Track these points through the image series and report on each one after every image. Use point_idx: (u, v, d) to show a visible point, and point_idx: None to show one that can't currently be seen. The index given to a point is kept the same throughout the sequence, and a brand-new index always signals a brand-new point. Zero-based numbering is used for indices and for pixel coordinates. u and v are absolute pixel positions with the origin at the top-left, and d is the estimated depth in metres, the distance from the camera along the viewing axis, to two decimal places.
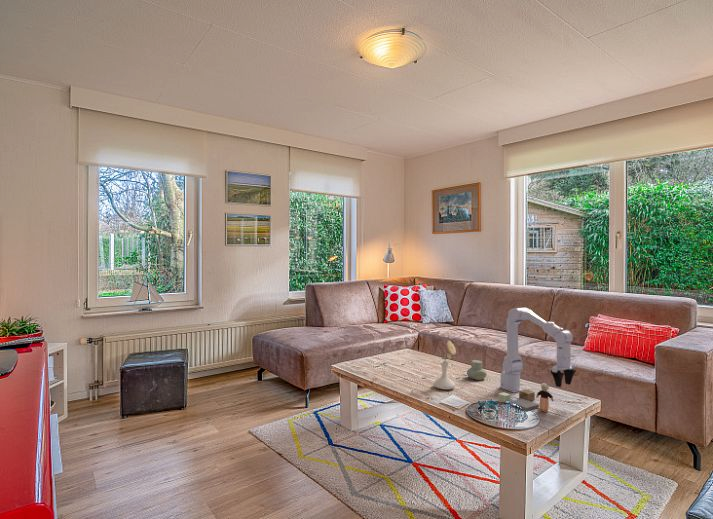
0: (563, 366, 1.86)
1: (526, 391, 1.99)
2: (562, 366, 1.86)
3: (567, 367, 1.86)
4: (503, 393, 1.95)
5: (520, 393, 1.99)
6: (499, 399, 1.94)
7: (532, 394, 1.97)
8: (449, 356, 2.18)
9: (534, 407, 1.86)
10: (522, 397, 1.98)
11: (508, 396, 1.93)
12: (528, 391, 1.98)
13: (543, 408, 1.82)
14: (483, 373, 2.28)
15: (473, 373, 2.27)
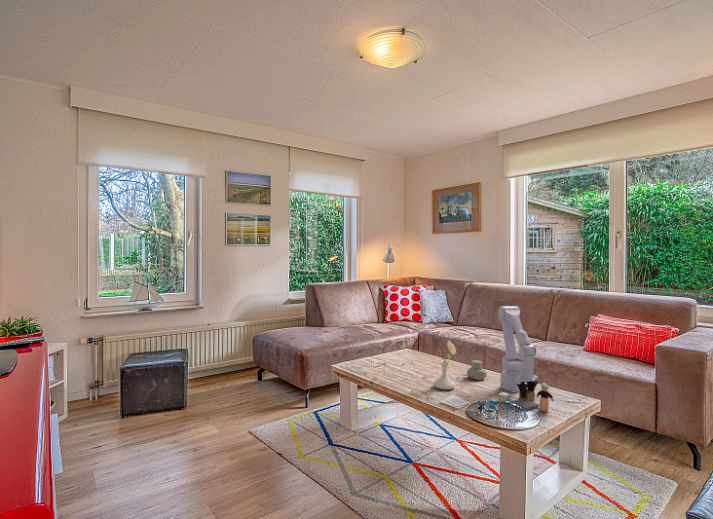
0: (526, 378, 1.96)
1: None
2: (525, 378, 1.96)
3: (530, 379, 1.95)
4: (503, 393, 1.95)
5: None
6: (499, 399, 1.94)
7: (532, 394, 1.97)
8: (449, 356, 2.18)
9: (534, 407, 1.86)
10: (522, 397, 1.98)
11: (508, 396, 1.93)
12: (528, 391, 1.98)
13: (543, 408, 1.82)
14: (483, 373, 2.28)
15: (473, 373, 2.27)
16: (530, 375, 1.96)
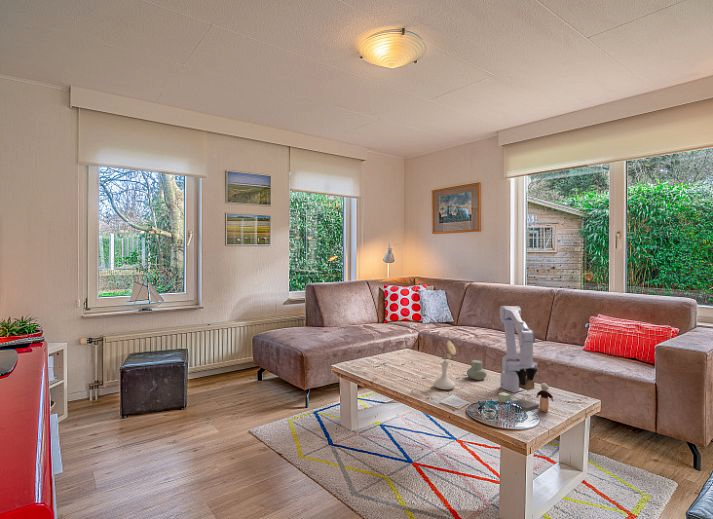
0: (525, 365, 1.91)
1: None
2: (524, 365, 1.91)
3: (529, 366, 1.91)
4: (503, 393, 1.95)
5: (519, 381, 1.94)
6: (499, 399, 1.94)
7: (532, 382, 1.92)
8: (449, 356, 2.18)
9: (534, 407, 1.86)
10: (522, 386, 1.93)
11: (508, 396, 1.93)
12: (528, 379, 1.94)
13: (543, 408, 1.82)
14: (483, 373, 2.28)
15: (473, 373, 2.27)
16: (529, 362, 1.91)
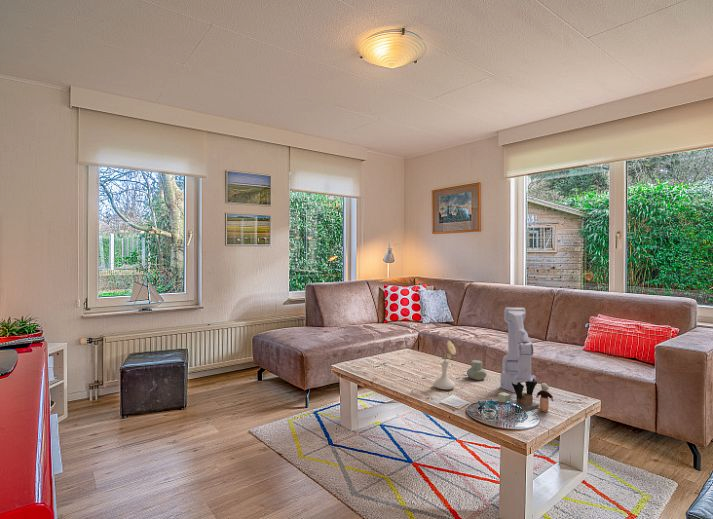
0: (524, 378, 1.86)
1: (523, 394, 1.89)
2: (523, 378, 1.86)
3: (527, 379, 1.86)
4: (503, 393, 1.95)
5: None
6: (499, 399, 1.94)
7: (530, 398, 1.87)
8: (449, 356, 2.18)
9: (534, 407, 1.86)
10: (519, 401, 1.88)
11: (508, 396, 1.93)
12: (526, 394, 1.89)
13: (543, 408, 1.82)
14: (483, 373, 2.28)
15: (473, 373, 2.27)
16: (528, 375, 1.86)
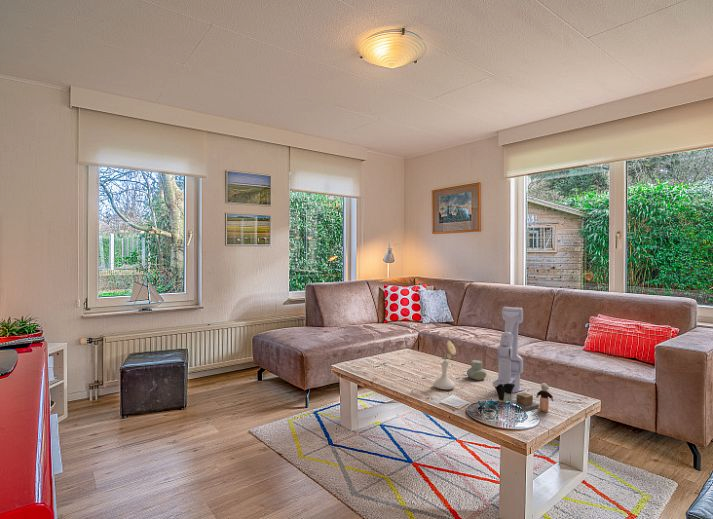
0: (503, 380, 1.92)
1: (523, 394, 1.89)
2: (502, 380, 1.92)
3: (507, 381, 1.91)
4: None
5: (517, 396, 1.89)
6: None
7: (530, 398, 1.87)
8: (449, 356, 2.18)
9: (534, 407, 1.86)
10: (519, 401, 1.88)
11: (508, 396, 1.93)
12: (526, 394, 1.89)
13: (543, 408, 1.82)
14: (483, 373, 2.28)
15: (473, 373, 2.27)
16: (507, 377, 1.91)
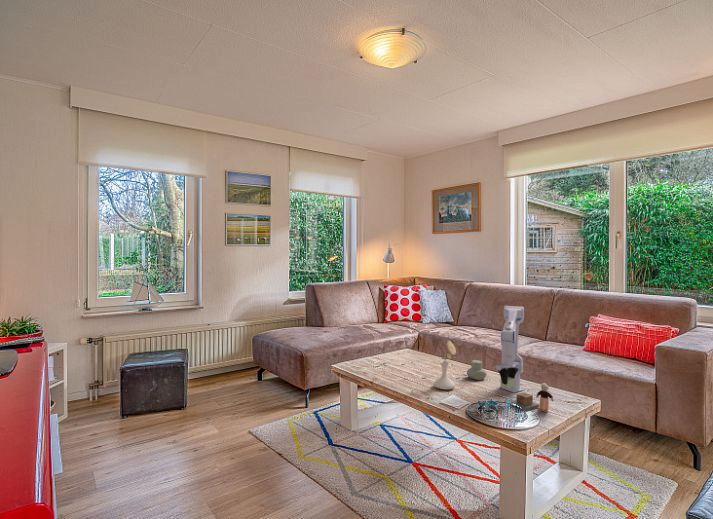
0: (507, 364, 1.91)
1: (523, 394, 1.89)
2: (506, 364, 1.91)
3: (510, 365, 1.90)
4: None
5: (517, 396, 1.89)
6: None
7: (530, 398, 1.87)
8: (449, 356, 2.18)
9: (534, 407, 1.86)
10: (519, 401, 1.88)
11: (511, 380, 1.92)
12: (526, 394, 1.89)
13: (543, 408, 1.82)
14: (483, 373, 2.28)
15: (473, 373, 2.27)
16: (511, 361, 1.90)
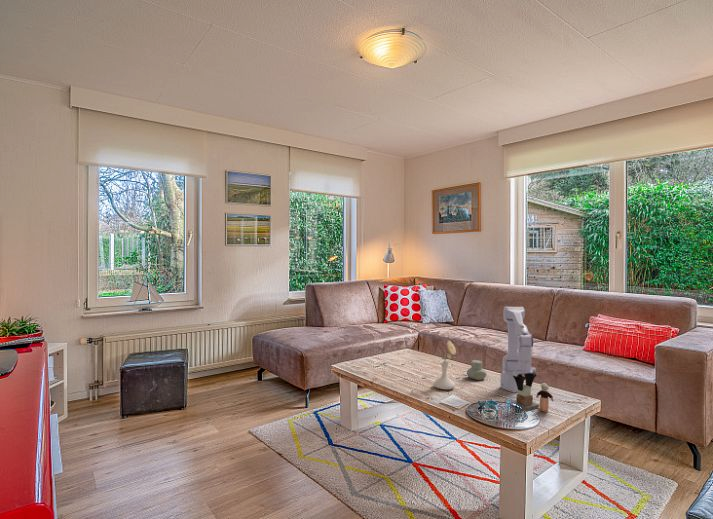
0: (524, 370, 1.86)
1: None
2: (523, 370, 1.86)
3: (528, 371, 1.86)
4: (523, 385, 1.89)
5: (517, 396, 1.89)
6: (519, 391, 1.89)
7: (530, 398, 1.87)
8: (449, 356, 2.18)
9: (534, 407, 1.86)
10: (519, 401, 1.88)
11: (528, 388, 1.87)
12: None
13: (543, 408, 1.82)
14: (483, 373, 2.28)
15: (473, 373, 2.27)
16: (528, 367, 1.86)
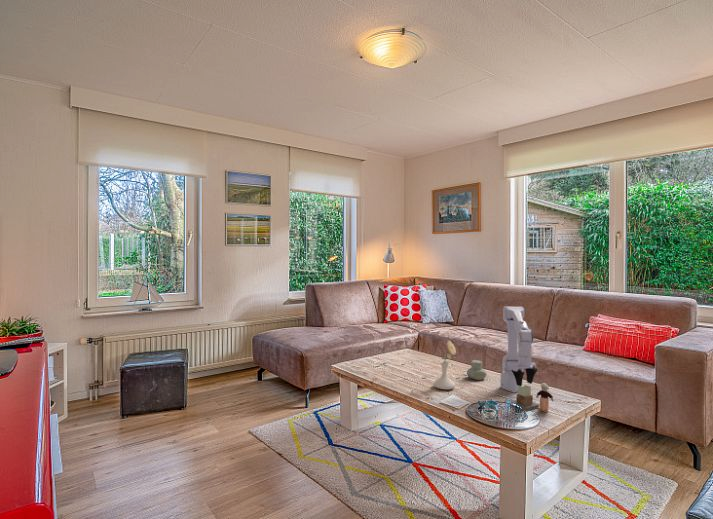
0: (524, 365, 1.86)
1: None
2: (523, 365, 1.86)
3: (528, 366, 1.86)
4: (523, 385, 1.89)
5: (517, 396, 1.89)
6: (519, 391, 1.89)
7: (530, 398, 1.87)
8: (449, 356, 2.18)
9: (534, 407, 1.86)
10: (519, 401, 1.88)
11: (528, 388, 1.87)
12: None
13: (543, 408, 1.82)
14: (483, 373, 2.28)
15: (473, 373, 2.27)
16: (528, 362, 1.86)
